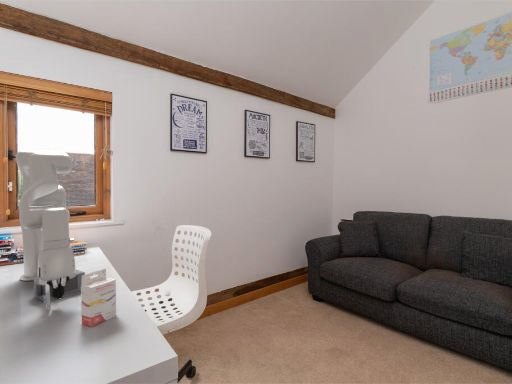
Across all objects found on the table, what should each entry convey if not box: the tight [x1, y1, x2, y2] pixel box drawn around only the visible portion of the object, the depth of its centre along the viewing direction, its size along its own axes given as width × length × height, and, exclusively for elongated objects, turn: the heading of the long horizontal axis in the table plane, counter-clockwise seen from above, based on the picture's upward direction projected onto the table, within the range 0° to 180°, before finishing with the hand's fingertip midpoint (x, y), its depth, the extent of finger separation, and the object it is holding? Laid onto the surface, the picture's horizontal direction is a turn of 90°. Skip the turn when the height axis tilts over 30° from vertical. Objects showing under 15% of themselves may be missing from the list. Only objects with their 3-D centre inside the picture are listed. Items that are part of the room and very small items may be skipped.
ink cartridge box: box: [80, 268, 117, 328], centre depth 89 cm, size 9×5×15 cm, turn 155°
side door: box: [43, 285, 51, 310], centre depth 100 cm, size 2×12×6 cm, turn 37°
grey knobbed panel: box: [33, 269, 86, 302], centre depth 112 cm, size 9×16×8 cm, turn 146°
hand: (58, 297), depth 99 cm, fingers closed
